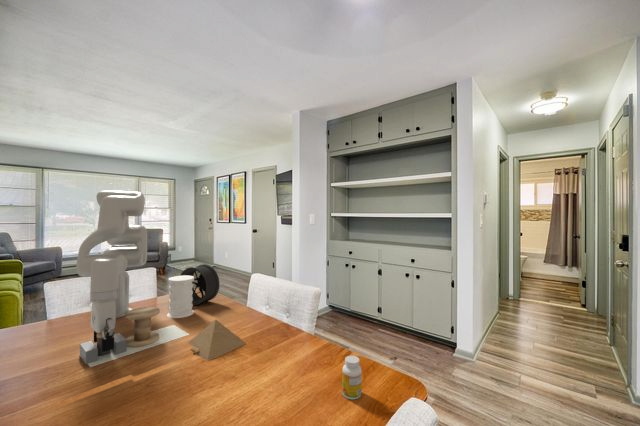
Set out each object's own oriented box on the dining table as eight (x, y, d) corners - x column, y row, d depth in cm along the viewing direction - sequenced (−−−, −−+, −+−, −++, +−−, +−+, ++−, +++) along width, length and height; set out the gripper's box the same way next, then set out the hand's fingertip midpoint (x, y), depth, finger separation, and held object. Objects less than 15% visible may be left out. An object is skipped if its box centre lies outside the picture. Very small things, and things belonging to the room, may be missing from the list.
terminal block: (79, 355, 93) (79, 343, 93) (118, 343, 102) (119, 332, 102) (85, 364, 88) (85, 351, 88) (126, 351, 97) (126, 339, 97)
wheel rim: (219, 303, 152) (219, 266, 152) (206, 308, 144) (207, 269, 144) (191, 297, 160) (192, 262, 160) (177, 302, 152) (178, 265, 152)
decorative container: (186, 310, 141) (186, 274, 141) (199, 315, 134) (199, 277, 134) (162, 316, 132) (162, 278, 131) (174, 322, 125) (175, 282, 125)
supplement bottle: (340, 388, 81) (341, 354, 81) (358, 387, 82) (359, 354, 82) (343, 400, 76) (344, 364, 76) (363, 399, 76) (364, 364, 76)
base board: (79, 355, 96) (79, 352, 96) (173, 327, 120) (173, 324, 120) (90, 371, 87) (90, 367, 87) (189, 337, 111) (189, 334, 111)
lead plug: (94, 353, 95) (95, 332, 95) (108, 349, 98) (108, 329, 98) (98, 357, 92) (98, 336, 92) (112, 353, 95) (112, 332, 95)
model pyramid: (180, 348, 103) (180, 321, 103) (221, 332, 117) (222, 308, 117) (205, 363, 93) (205, 333, 93) (247, 344, 107) (248, 318, 107)
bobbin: (119, 340, 104) (120, 312, 104) (152, 331, 113) (152, 305, 113) (130, 350, 97) (130, 320, 97) (164, 339, 106) (164, 311, 106)
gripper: (84, 292, 98) (83, 341, 98) (97, 303, 87) (96, 358, 87) (110, 287, 103) (109, 334, 103) (126, 297, 92) (125, 349, 93)
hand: (103, 345), depth 95 cm, fingers open, 9 cm apart
